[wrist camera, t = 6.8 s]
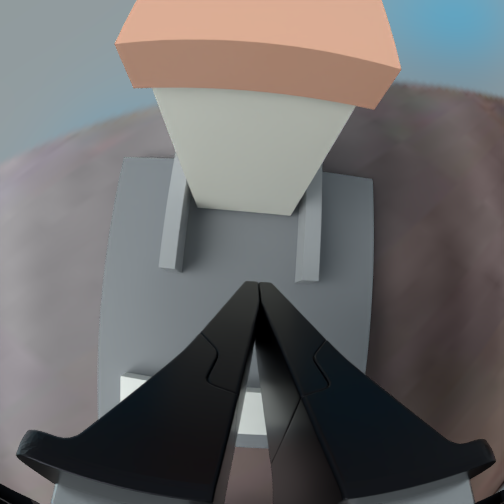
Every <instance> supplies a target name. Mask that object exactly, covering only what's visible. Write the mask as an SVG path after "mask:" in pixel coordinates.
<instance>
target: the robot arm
mask: <svg viewBox="0 0 504 504" xmlns="http://www.w3.org/2000/svg"><path fill="white" fill-rule="evenodd" d="M254 343H255V350H256V358H257V366H258V373H259V381H260V388H261V396H262V403H263V411H264V418H265V426H266V433H267V440H268V448H269V455H270V462H271V470H272V482H273V504H504V490H502V491H500V492H498V493H496V494H494V495H492V496H490V497H488V498H485V499H483V500H481V501H479V502H477V503H475V500H474V496H473V491H472V487H471V483H470V479H472V478H473V477H475V476H477V475H478V474H480V473H482V472H483V471H485V470H486V469H488V468H489V467H491V466H492V465H493V464H494V463H495V462H496V459H495V456H494V453H493V451H492V448H491V447H490V445H489V444H488V442H487V441H486V440H485V439H478V440H474V441H471V442H468V443H464V444H457V443H453V442H451V441H449V440H447V439H446V438H445V437H443V436H442V435H441V434H439V433H438V432H437V431H436V430H434V429H433V428H432V427H430V426H429V425H428V424H427V423H425V422H424V421H423V420H422V419H420V418H419V417H418V416H416V415H415V414H414V413H413V412H411V411H410V410H409V409H408V408H406V407H405V406H404V405H403V404H401V403H400V402H399V401H398V400H396V399H395V398H394V397H393V396H391V395H390V394H389V393H388V392H386V391H385V390H384V389H383V388H381V387H380V386H379V385H378V384H376V383H375V382H374V381H373V380H371V379H370V378H369V377H368V376H366V375H365V374H364V373H363V372H362V371H360V370H359V369H358V368H357V367H356V366H354V365H353V364H352V363H351V362H350V361H349V360H347V359H346V358H345V357H344V356H343V355H342V354H341V353H340V352H339V351H338V350H337V349H336V348H335V347H334V346H333V345H332V344H331V343H330V342H329V341H328V340H326V339H325V338H324V337H323V335H322V334H321V333H320V332H319V331H318V330H317V329H316V328H315V327H314V326H313V325H312V324H311V323H310V322H309V321H308V320H307V319H306V318H305V317H304V316H303V315H302V314H301V313H300V312H299V311H298V310H297V309H296V307H295V306H294V305H293V304H292V303H291V302H290V301H289V300H288V299H287V298H286V297H285V296H284V295H283V294H282V293H281V292H280V291H279V290H278V289H277V288H276V287H275V286H274V285H273V284H272V283H271V282H259V284H258V282H256V281H245V282H244V283H243V284H242V285H241V287H240V288H239V289H238V290H237V291H236V292H235V293H234V295H233V296H232V297H231V298H230V299H229V300H228V301H227V303H226V304H225V305H224V306H223V307H222V308H221V309H220V311H219V312H218V313H217V314H216V315H215V316H214V317H213V319H212V320H211V321H210V322H209V323H208V324H207V325H206V326H205V328H204V329H203V330H202V331H201V332H200V333H199V334H198V335H197V336H196V337H195V338H194V340H193V341H192V342H191V343H190V344H189V345H188V346H187V347H186V348H185V349H184V350H183V351H182V352H181V353H180V354H178V355H177V356H176V357H175V358H174V359H173V360H172V361H170V362H169V363H168V364H167V365H166V366H164V367H163V368H162V369H161V370H159V371H158V372H157V373H156V374H155V375H153V376H152V377H151V378H150V379H148V380H147V381H146V382H145V383H143V384H142V385H141V386H140V387H139V388H137V389H136V390H135V391H134V392H132V393H131V394H130V395H129V396H127V397H126V398H125V399H124V400H122V401H121V402H120V403H119V404H117V405H116V406H115V407H114V408H112V409H111V410H110V411H108V412H107V413H106V414H105V415H103V416H102V417H101V418H100V419H98V420H97V421H96V422H94V423H93V424H92V425H91V426H89V427H88V428H87V429H85V430H84V431H83V432H82V433H80V434H78V435H77V436H74V437H70V438H62V437H57V436H54V435H51V434H48V433H45V432H42V431H38V430H29V431H27V432H26V434H25V435H24V437H23V439H22V441H21V442H20V445H19V447H18V450H17V453H16V456H17V457H18V459H20V460H21V461H22V462H23V463H25V464H26V465H27V466H29V467H30V468H32V469H33V470H34V471H36V472H37V473H39V474H40V475H42V476H43V477H45V478H46V479H48V480H49V481H51V482H52V483H54V484H55V487H54V491H53V495H52V499H51V504H224V501H225V496H226V491H227V485H228V480H229V475H230V470H231V465H232V460H233V455H234V450H235V445H236V440H237V435H238V430H239V424H240V419H241V414H242V409H243V404H244V399H245V393H246V388H247V383H248V377H249V372H250V367H251V361H252V356H253V350H254ZM0 504H39V503H38V502H36V501H34V500H32V499H30V498H28V497H26V496H24V495H21V494H19V493H17V492H15V491H13V490H11V489H9V488H7V487H6V486H4V485H2V484H0Z"/></svg>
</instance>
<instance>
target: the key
mask: <svg viewBox="0 0 504 504" xmlns="http://www.w3.org/2000/svg"><path fill="white" fill-rule="evenodd" d="M115 46H116V49H117V51H118V53H119V55H120V58H121V60H122V63H123V65H124V67H125V69H126V72H127V74H128V77H129V79H130V81H131V83H132V86H133V88H152V89H153V92H154V95H155V98H156V100H157V103H158V106H159V108H160V111H161V114H162V117H163V119H164V122H165V125H166V127H167V130H168V133H169V135H170V138H171V141H172V143H173V146H174V148H175V151H176V154H177V156H178V159H179V162H180V164H181V167H182V169H183V172H184V174H185V177H186V180H187V182H188V185H189V187H190V190H191V192H192V195H193V197H194V200H195V202H196V205H197V207H198V208H208V209H221V210H233V211H244V212H256V213H266V214H277V215H287V216H291V214H292V212H293V211H294V209H295V207H296V206H297V204H298V203H299V201H300V199H301V198H302V196H303V194H304V193H305V191H306V189H307V188H308V186H309V184H310V183H311V181H312V179H313V178H314V176H315V174H316V173H317V171H318V169H319V168H320V166H321V164H322V163H323V161H324V159H325V158H326V156H327V154H328V153H329V151H330V149H331V148H332V146H333V144H334V143H335V141H336V139H337V137H338V136H339V134H340V132H341V131H342V129H343V127H344V126H345V124H346V122H347V121H348V119H349V117H350V116H351V114H352V112H353V110H354V109H355V107H356V106H359V107H364V108H368V109H373V110H374V109H375V108H376V106H377V105H378V103H379V102H380V100H381V99H382V97H383V96H384V94H385V93H386V91H387V90H388V89H389V87H390V86H391V84H392V83H393V81H394V80H395V78H396V77H397V75H398V74H399V72H400V71H401V66H400V62H399V58H398V54H397V50H396V46H395V42H394V39H393V35H392V32H391V28H390V25H389V22H388V18H387V15H386V12H385V9H384V6H383V3H382V0H137V1H136V2H135V4H134V6H133V8H132V10H131V12H130V14H129V16H128V17H127V19H126V21H125V23H124V25H123V27H122V29H121V31H120V34H119V36H118V38H117V40H116V42H115Z"/></svg>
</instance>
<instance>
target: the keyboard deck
mask: <svg viewBox="0 0 504 504" xmlns="http://www.w3.org/2000/svg"><path fill="white" fill-rule="evenodd" d="M373 256H374V207H373V179H368V178H362V177H356V176H349V175H343V174H336V173H329V172H322V164H321V166H320V168H319V169H318V171H317V173H316V174H315V176H314V178H313V179H312V181H311V183H310V184H309V186H308V188H307V189H306V191H305V193H304V194H303V196H302V198H301V199H300V201H299V203H298V204H297V206H296V207H295V209H294V211H293V212H292V214H291V216H287V215H277V214H266V213H256V212H244V211H233V210H221V209H208V208H198V207H197V205H196V202H195V200H194V197H193V195H192V192H191V190H190V187H189V185H188V182H187V180H186V177H185V174H184V172H183V169H182V167H181V164H180V162H179V159H178V156H177V154H176V152H175V158H174V159H173V158H142V157H124V160H123V164H122V169H121V173H120V178H119V183H118V188H117V193H116V198H115V203H114V209H113V214H112V220H111V226H110V232H109V239H108V246H107V253H106V261H105V269H104V278H103V287H102V298H101V309H100V324H99V342H98V419H100V418H101V417H102V416H103V415H105V414H106V413H107V412H108V411H110V410H111V409H112V408H114V407H115V406H116V405H117V404H119V403H120V402H121V401H122V400H124V399H125V398H126V397H127V396H129V395H130V394H131V393H132V392H134V391H135V390H136V389H137V388H139V387H140V386H141V385H142V384H143V383H145V382H146V381H147V380H148V379H150V378H151V377H152V376H153V375H155V374H156V373H157V372H158V371H159V370H161V369H162V368H163V367H164V366H166V365H167V364H168V363H169V362H170V361H172V360H173V359H174V358H175V357H176V356H177V355H178V354H180V353H181V352H182V351H183V350H184V349H185V348H186V347H187V346H188V345H189V344H190V343H191V342H192V341H193V340H194V338H195V337H196V336H197V335H198V334H199V333H200V332H201V331H202V330H203V329H204V328H205V326H206V325H207V324H208V323H209V322H210V321H211V320H212V319H213V317H214V316H215V315H216V314H217V313H218V312H219V311H220V309H221V308H222V307H223V306H224V305H225V304H226V303H227V301H228V300H229V299H230V298H231V297H232V296H233V295H234V293H235V292H236V291H237V290H238V289H239V288H240V287H241V285H242V284H243V283H244V282H245V281H256V282H258V284H259V282H271V283H272V284H273V285H274V286H275V287H276V288H277V289H278V290H279V291H280V292H281V293H282V294H283V295H284V296H285V297H286V298H287V299H288V300H289V301H290V302H291V303H292V304H293V305H294V306H295V307H296V309H297V310H298V311H299V312H300V313H301V314H302V315H303V316H304V317H305V318H306V319H307V320H308V321H309V322H310V323H311V324H312V325H313V326H314V327H315V328H316V329H317V330H318V331H319V332H320V333H321V334H322V335H323V337H324V338H325V339H326V340H328V341H329V342H330V343H331V344H332V345H333V346H334V347H335V348H336V349H337V350H338V351H339V352H340V353H341V354H342V355H343V356H344V357H345V358H346V359H347V360H349V361H350V362H351V363H352V364H353V365H354V366H356V367H357V368H358V369H359V370H360V371H362V372H363V373H364V374H365V372H366V363H367V354H368V344H369V333H370V320H371V305H372V287H373ZM235 447H248V448H268V440H267V433H266V426H265V418H264V411H263V403H262V396H261V388H260V381H259V373H258V366H257V358H256V350H255V343H254V350H253V356H252V361H251V367H250V372H249V377H248V383H247V388H246V393H245V399H244V404H243V409H242V414H241V419H240V424H239V430H238V435H237V440H236V445H235Z"/></svg>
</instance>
